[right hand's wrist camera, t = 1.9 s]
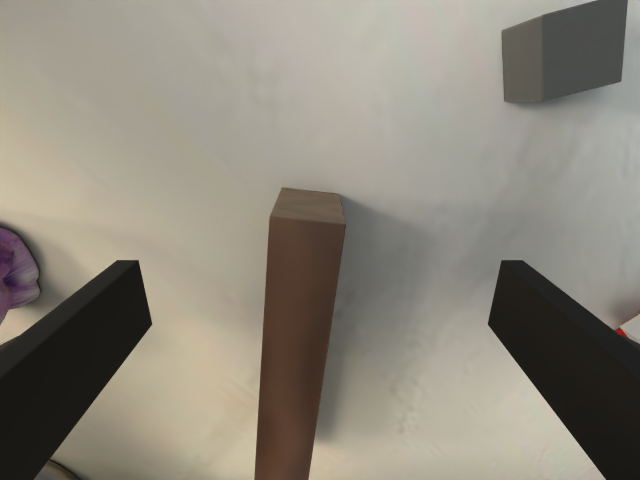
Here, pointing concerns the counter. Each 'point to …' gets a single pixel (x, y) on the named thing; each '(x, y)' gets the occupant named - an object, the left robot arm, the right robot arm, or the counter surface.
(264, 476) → the walnut bar
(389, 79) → the counter surface
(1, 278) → the figurine
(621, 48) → the slate cube
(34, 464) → the right robot arm
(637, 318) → the toy
